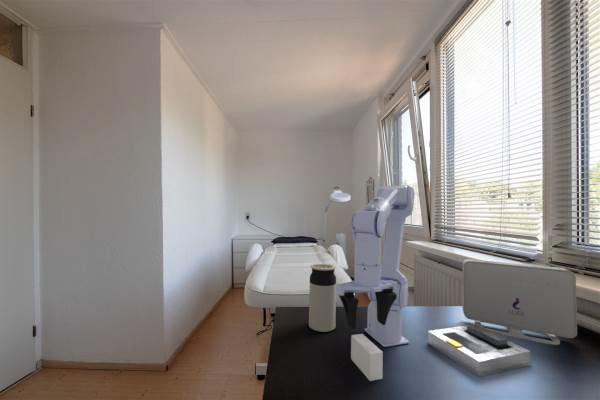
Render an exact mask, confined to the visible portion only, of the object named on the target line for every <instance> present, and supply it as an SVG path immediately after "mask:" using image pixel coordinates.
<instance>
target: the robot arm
mask: <svg viewBox="0 0 600 400" xmlns="http://www.w3.org/2000/svg"><path fill="white" fill-rule="evenodd" d="M414 203H415V190H414V187H413V185H412V184H407V185H405V184H404V185H380V186H379V187H378V189H377V193H376V196H374V197H373V198H372V199H371V200H370V201H369V203H367V204H366V206H365V207H364V208H363V209H362V210H357V211H355V212H353V213H352V216H351V218H350V231H351V234H352V242H353V243H354V280H352V281H351V280H350V281H348V282H347V281H346V282H343V283H336V295H338V297H339V298H340V301H341V303H342V306H343V309H344V312H345V317H346V321H347V326H348V327H349V328H350V329H352V330H356V325H357V310H358V306H359V301H360V300H359V299H358V298H356V295H354V294H361V293H367V295H368V296H367V297H368V299H369V300H370V302H369V304H368V306H367V321H366V322H367V323H366V324H367V325H366V326H367V327H366V328H364V332H366V333H367V334H368V335H369V336H371V337H372V338H373V339H374V340H375V341H376V342H378V343H379V344H380V345H381V346H382V347H384V348H386V347H387V348H388V347H393V346H399V345H405V344H406V345H407V344H409V343H410V341H409V339H408V338H406V337H404V336H403V335H402V334H403V332H402V331H403V330H402V323H403V322H402V321H403V320H402V316H403V313H402V310H403V309H404V308H405V307H407V305H408V301H409V281H408V279H407V277H406V276H405V275H404V274H403V273H401V271H400V263H401V258H402V257H401V255H402V247H403V239H404V238H403V237H404V231H405V230H404V228H405V223H406V220H407V219H406V218H408V217H410V216H411V215H412V214H413V212H414ZM386 225H387V226H386ZM385 229H386V233H385ZM384 235H385V242H384V249H383V256H382V237H383V236H384ZM381 260H382V261H381Z"/></svg>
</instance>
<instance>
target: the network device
mask: <svg viewBox="0 0 600 400" xmlns="http://www.w3.org/2000/svg"><path fill="white" fill-rule="evenodd" d="M461 267H462V271H461V272H462V275H461V277H462V278H461V279H462V282H461V283H462V285H461V286H462V289H461V290H462V313H463V316H464V318H466V319H467V320H470V321H474V323H475V325H478V326H480V327H482V328H484V329H486V330H489V331H491V332H493V333H495V334H497V335H500V336H501V335H503V336H507V337H512V338H519V339H521V340H522V339H523V340H527V341H532V342H538V343H542V344H547V345H553V346H554V345H555V346H559V345H561V340H560V339H559V338H558V337H562V338H568V339H573V338H576V337H577V335H578V314H577V313H578V310H577V308H578V306H577V305H578V304H577V276H576V274H575V273H574V272H573V271H571V270H568V269H566V268H564V267H557V266H547V265H535V264H534V265H533V264H526V263H525V264H523V263H513V262H505V261H504V262H502V261H492V260H491V261H490V260H481V259H468V258H467V259H464V260H463V261H462V264H461ZM480 321H481V322H482V323H487V324H492V325H498V326H503V327H505V328H506V329H507V331H508V332H507V331H502V330H497V329H492V328H488V327H485V326H482V323H481V322H480ZM523 331H530V332H535V333H541V334H545V335H547V336H548V337H549V338H550V339H551V340H549V339H543V338H540V337H533V336H528V335H525V334H524V333H523Z"/></svg>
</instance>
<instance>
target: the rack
mask: <svg viewBox="0 0 600 400" xmlns="http://www.w3.org/2000/svg"><path fill="white" fill-rule="evenodd" d="M484 328H485V327H484ZM484 328H482V327H480V326H478V325H476V324H467V325H461V326H454V327H447V328H439V329H434V330H433V329H432V330H427V344H428V345H430V346H431V347H433V348H434V349H436V350H438V352H440V353H443V354H444V355H445V356H446V357H448V358H449V359H451V360H453V361H454V362H456V363H457V364H459V365H460V366H462V367H463V368H465V369H466V370H469V371H470V373H472V374H475V375H476V376H477V377H479V378H480V377H485V376H490V375H495V374H499V373H502V372H507V371H511V370H515V369H520V368H525V367H530V366H531V365H532V364H531V363H532V361H531V360H532V358H531V357H532V356H531V350H529V349H527V348H524V346H523V347H522V346H521V345H518V344H517V343H514V342H512V341H509V340H508V338H506V337H503V336H501V335H500V334H496V333H493V332H491V331H489V330H486V329H484Z"/></svg>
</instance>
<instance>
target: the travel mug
mask: <svg viewBox="0 0 600 400" xmlns="http://www.w3.org/2000/svg"><path fill="white" fill-rule="evenodd" d="M310 268H311V273H310V275H309V296H308V297H309V301H308V306H309V307H308V311H309V312H308V326H309V328H310V329H311V330H314V331H315V332H320V333H321V332H322V333H327V332H331V331H333V330H334V329H336V312H337V311H336V309H337V308H336V307H337V293H336V284H337V276H336V274H335V270H336V266H335V265H333V264H332V263H331V264H328V263H314V264H311V265H310Z"/></svg>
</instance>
